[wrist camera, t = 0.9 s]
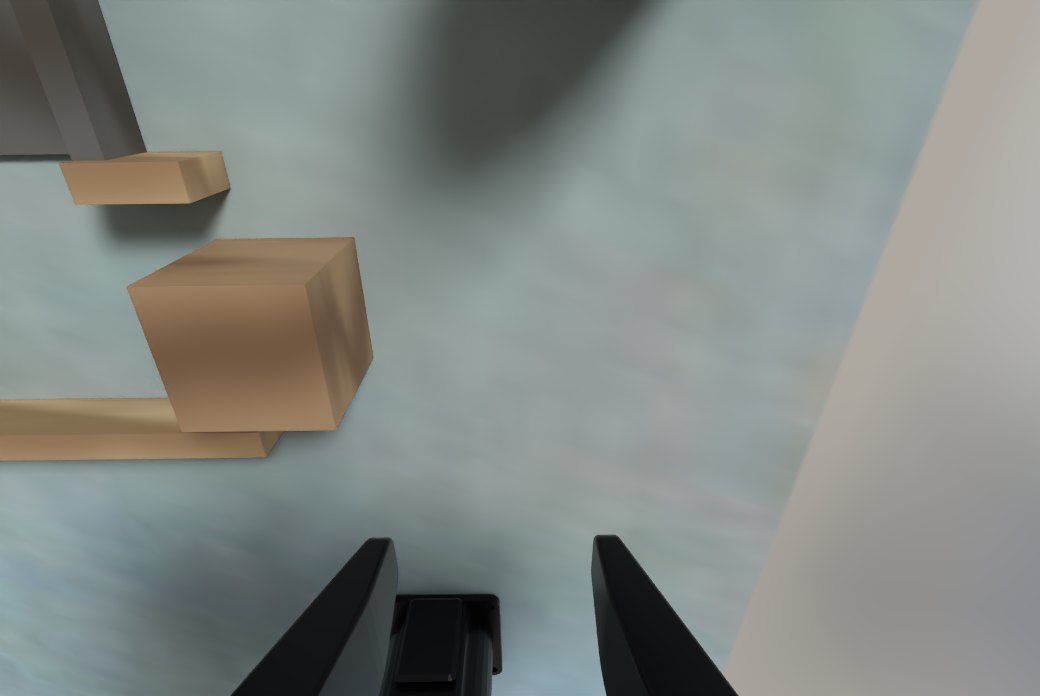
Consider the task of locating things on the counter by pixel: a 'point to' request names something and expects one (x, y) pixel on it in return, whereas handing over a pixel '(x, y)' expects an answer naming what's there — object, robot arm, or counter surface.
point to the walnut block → (258, 333)
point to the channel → (95, 180)
